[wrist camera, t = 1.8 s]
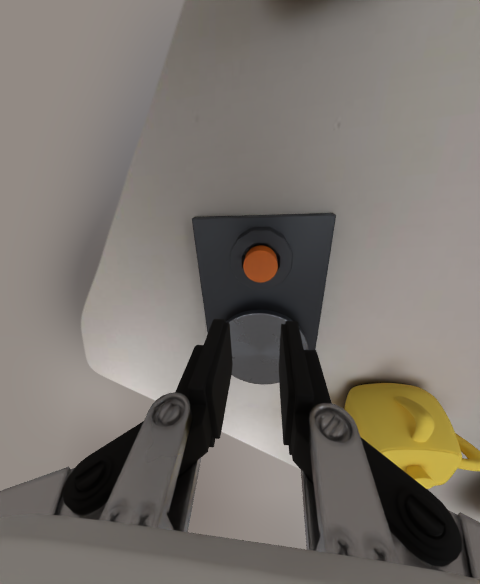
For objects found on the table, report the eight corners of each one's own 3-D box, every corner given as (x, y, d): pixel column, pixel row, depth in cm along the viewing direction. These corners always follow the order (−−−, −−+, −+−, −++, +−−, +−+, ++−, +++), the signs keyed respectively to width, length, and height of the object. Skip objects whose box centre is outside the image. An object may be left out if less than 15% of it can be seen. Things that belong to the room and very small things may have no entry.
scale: (213, 357, 32) (208, 373, 29) (195, 216, 23) (185, 221, 20) (310, 362, 30) (314, 379, 28) (332, 212, 21) (342, 217, 19)
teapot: (360, 437, 37) (391, 521, 28) (311, 398, 34) (327, 479, 25) (444, 404, 31) (517, 495, 22) (395, 354, 28) (455, 437, 19)
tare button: (245, 275, 22) (243, 282, 21) (244, 245, 21) (242, 250, 19) (276, 275, 22) (277, 282, 21) (277, 244, 21) (278, 250, 19)
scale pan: (219, 377, 29) (218, 381, 29) (211, 308, 24) (210, 312, 24) (302, 381, 28) (303, 387, 28) (312, 310, 23) (313, 314, 22)
